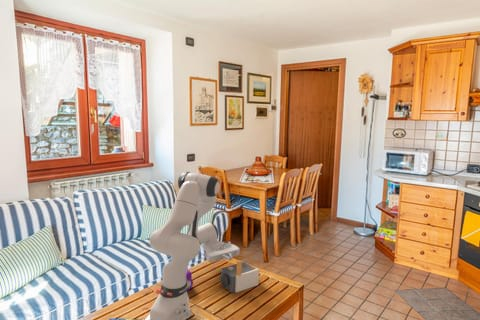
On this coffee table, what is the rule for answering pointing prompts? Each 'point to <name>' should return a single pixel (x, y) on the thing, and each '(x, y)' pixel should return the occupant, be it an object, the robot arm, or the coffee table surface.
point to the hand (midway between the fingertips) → (230, 258)
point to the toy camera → (189, 280)
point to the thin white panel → (245, 278)
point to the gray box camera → (233, 275)
